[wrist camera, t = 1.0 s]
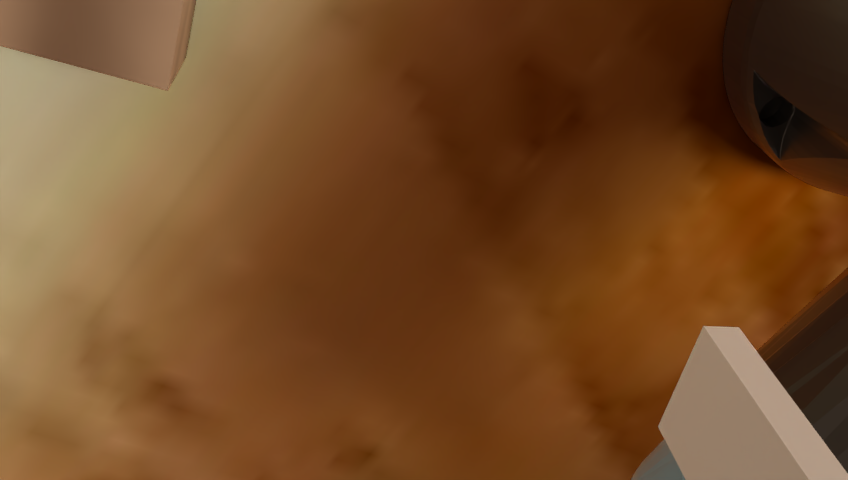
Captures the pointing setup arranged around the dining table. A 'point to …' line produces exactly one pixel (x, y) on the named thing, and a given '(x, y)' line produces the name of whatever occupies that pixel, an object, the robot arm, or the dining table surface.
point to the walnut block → (103, 35)
